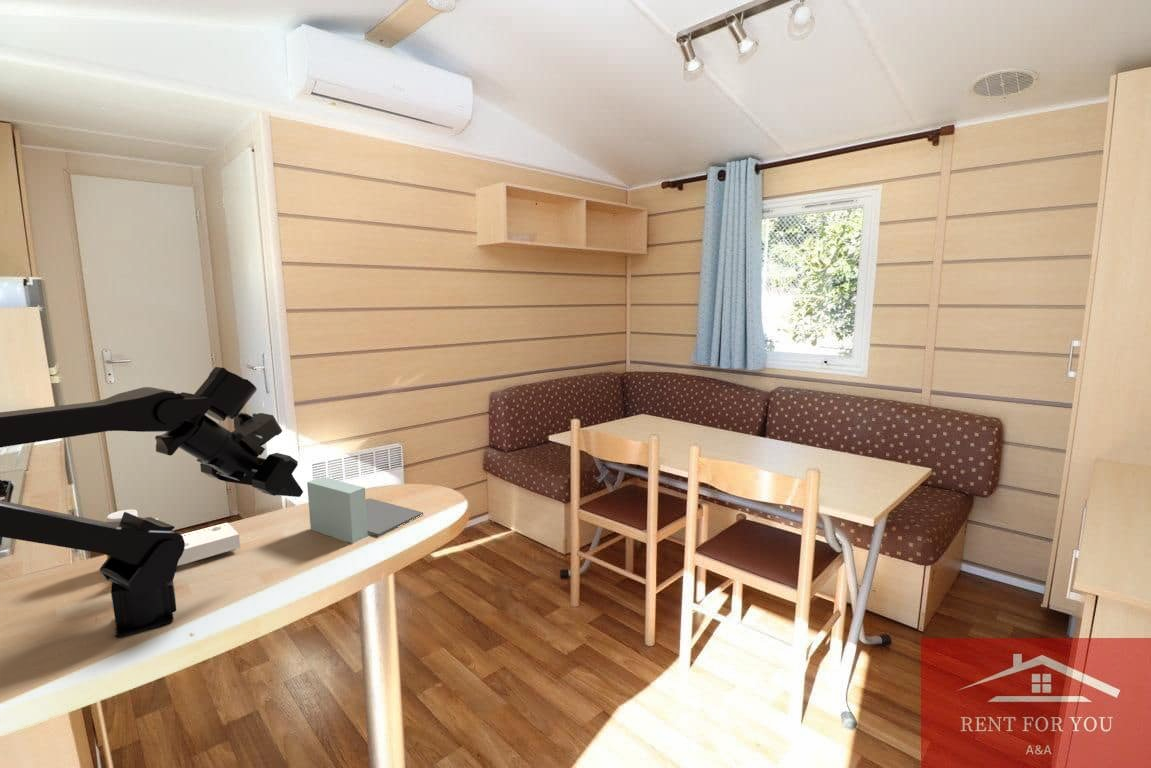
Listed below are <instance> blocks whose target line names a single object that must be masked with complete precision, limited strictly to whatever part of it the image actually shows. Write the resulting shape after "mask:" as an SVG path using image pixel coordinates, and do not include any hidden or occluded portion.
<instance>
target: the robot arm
mask: <svg viewBox="0 0 1151 768" xmlns="http://www.w3.org/2000/svg"><path fill="white" fill-rule="evenodd" d="M257 390H258V389H257V387H256V385H255V384H253V383H252V382H251V381H250V380H248V379H246V378H243V377H241V376H239V374H236V373H233V372H231V371H229V370H228V369H226V368H225V367H221V366H220V367H219V366H214V367H213V369H212V370H211V372H209V375H208V376H207V378H206V379H205V380H204V381H203V383H202V384H201V385H200V386H199V388H198V389H197V390H196V391H195V392H194V393H189V392H184V391H183V392H181V393H180V392H178V391H174V390H168V389H163V388H159V387H158V388H157V387H151V386H150V387H149V386H144V387H140V388H137V389H136V388H135V389H131V390H127V391H124V392H119V393H117V394H113V395H111V396H109V397H107V398H104V399H99V400H97V401H91V402H90V401H89V402H81V403H80V402H79V403H73V404H63V405H53V406H52V405H51V406H45V407H35V408H29V409H28V408H27V409H19V410H12V411H11V410H10V411H1V412H0V448H6V447H12V446H19V445H20V446H21V445H26V444H31V443H40V442H44V441H51V440H58V439H59V440H60V439H65V438H71V437H73V438H74V437H77V436H78V437H79V436H85V435H92V434H98V433H104V432H143V433H145V432H146V433H148V432H149V433H150V432H152V433H153V432H157V433H159V432H164V433H163V434H157V435H155V437H154V440H155V441H156V443H155V452H156V453H159V454H161V455H162V454H163V455H167V456H169V457H170V456H172V455H173V456H174V454H175V452H176V451H177V450H178V449H180V450H182V451H184V452H186V453H187V454H189V455H190V456H193V457H194V458H196V461H197V462H198V463H200V464H199V465H200V466H199V467H200V472H201V473H202V474H204V475H207V476H208V477H210V478H212V479H217V480H219V481H223V482H226V483H234V484H241V485H248V486H251V487H253V489H255V490H257V491H259V492H261V493H263V494H266V495H269V496H274V497H275V496H280V497H281V496H282V497H294V498H295V497H297V498H300V497H301V496H302V495H303V493H304V490H303V489H302V488H301V486H300V484H299V483H298V482H297V480H296V478H295V477H294V474H293V472H295V470H296V469H297V467H298V466H299V464H298V463H299V461H298V460H296V459H295V458H293V457H292V456H290V455H287V454H283V453H279V452H273V453H271V454H270V453H269V454H268V455H267V456H266V458H264V457H259V456H262V455H263V453H264V451H265V450H266V448H265V447H263V445H266V444H267V443H268V442H269V441H270V440H272V439H274V438H275V437H276V436H279V435H281V433H282V432H283V429H282V427H281V426H280V424H279V423H278V421H277V419H276V417H275V416H274V415H273V414H269V413H263V412H259V413H255V412H254V413H253V414H251V415H250V414H249V413H244V412H242V410H243V408H244V407H245V406H246V405H247V403H248V402H249V401H250V400H251V398H252V397H253V395H254V394H255V393H256V392H257ZM207 415H208V416H207ZM210 417H211V418H210ZM213 418H214V419H216V420H218V421H220V422H224V421H225V420H226V419H227V418H228V419H230V420H233V429H234V430H233V431H230V430H228V429H227V428H225V427H224V426H222V425H220V424H219V423H218V422H216V421H215V420H213ZM157 519H158V518H157ZM157 519H156V518H154V517H151V516H149V517H140V516H138V517H137V516H134V515H132V514H129V513H127V512H124V513H123V516H122V519H121V521H117V522H107V521H102V520H99V519H92V518H87V517H83V516H82V517H81V516H79V515H78V516H77V515H72V514H68V513H62V512H58V511H53V510H50V509H49V510H48V509H45V508H39V507H38V508H37V507H36V506H35V507H34V506H29V505H25V504H20V503H14V502H10V501H7V500H0V538H6V539H12V540H18V541H24V542H30V543H36V544H42V545H48V546H54V547H55V546H56V547H62V548H68V549H75V550H80V551H85V552H86V551H87V552H92V553H97V554H103V555H105V556H107V555H108V556H109V558H108V559H107V558H106V560H105V561H104V562H103V564H102V565H101V566H100V568H99V572H100V573H101V575H102V576H103V577H104V579H105V580H106V581H107V582H108V581H110V582H112V583H111V589H110V594H111V603H112V610H113V615H114V622H115V628H114V638H116V639H117V638H121V637H125V636H128V635H132V634H135V633H136V634H137V633H139V632H143V631H147V630H150V629H154V628H157V627H158V628H159V627H161V626H163V625H168V624H171V623H173V622H174V613H175V612H177V601H176V593H175V584H174V579H175V575H176V571H177V569H178V566H177V564H178V561H179V559H180V557H181V556H182V554H183V551H184V548H185V542H184V539H183V536H182V535H181V534H182V533H179V532H176V531H174V529H175V526H174V525H172V524H169V523H166V522H164V521H161V520H159V519H158V520H157Z"/></svg>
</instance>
